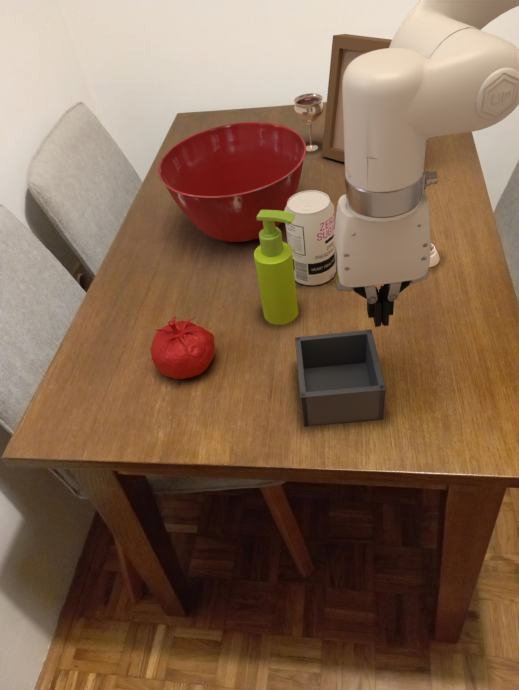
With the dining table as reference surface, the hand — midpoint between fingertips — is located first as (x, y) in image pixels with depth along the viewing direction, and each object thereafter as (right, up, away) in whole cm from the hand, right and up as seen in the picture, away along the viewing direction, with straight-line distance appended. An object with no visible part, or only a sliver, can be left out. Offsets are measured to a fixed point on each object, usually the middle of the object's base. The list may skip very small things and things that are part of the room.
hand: (379, 318), depth 66 cm
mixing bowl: (-19, +22, +44) cm, 53 cm away
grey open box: (+1, -7, +8) cm, 11 cm away
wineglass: (-2, +45, +63) cm, 77 cm away
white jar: (+15, +12, +29) cm, 34 cm away
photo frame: (+13, +40, +56) cm, 70 cm away
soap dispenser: (-11, +2, +24) cm, 26 cm away
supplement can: (-5, +10, +30) cm, 32 cm away
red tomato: (-27, -6, +19) cm, 33 cm away
